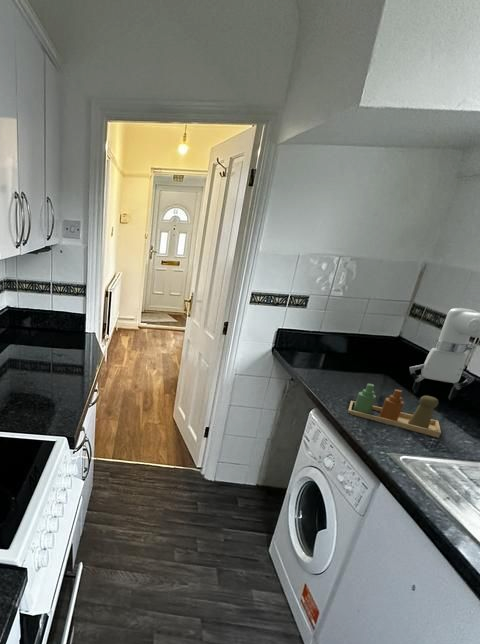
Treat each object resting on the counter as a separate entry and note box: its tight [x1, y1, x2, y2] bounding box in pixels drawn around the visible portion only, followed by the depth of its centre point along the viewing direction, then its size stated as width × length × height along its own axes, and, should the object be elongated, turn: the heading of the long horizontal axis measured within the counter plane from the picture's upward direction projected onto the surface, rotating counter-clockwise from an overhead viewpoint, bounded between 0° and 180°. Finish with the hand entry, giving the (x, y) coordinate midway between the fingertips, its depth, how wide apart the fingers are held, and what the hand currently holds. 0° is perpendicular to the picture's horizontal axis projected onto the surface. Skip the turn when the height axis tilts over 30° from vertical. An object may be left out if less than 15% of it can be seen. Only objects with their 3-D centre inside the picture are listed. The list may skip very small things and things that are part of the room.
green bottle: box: [352, 383, 377, 415], centre depth 153 cm, size 6×6×11 cm
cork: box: [408, 395, 439, 429], centre depth 144 cm, size 6×6×11 cm
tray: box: [347, 400, 442, 439], centre depth 151 cm, size 28×12×2 cm, turn 56°
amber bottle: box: [378, 389, 405, 421], centre depth 149 cm, size 6×6×11 cm
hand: (432, 395), depth 141 cm, fingers open, 9 cm apart
